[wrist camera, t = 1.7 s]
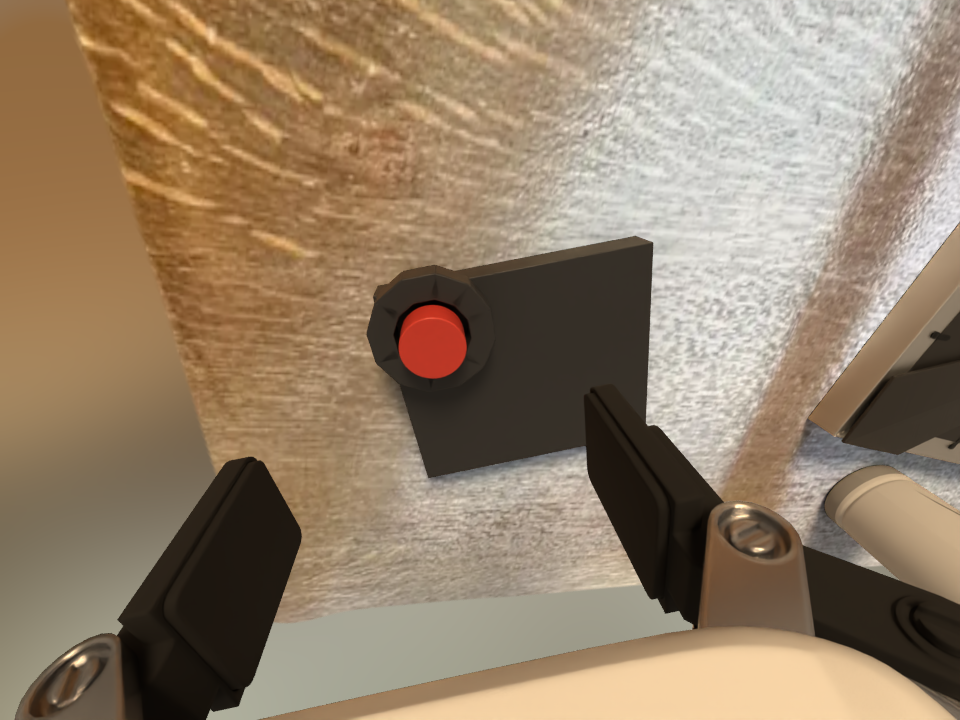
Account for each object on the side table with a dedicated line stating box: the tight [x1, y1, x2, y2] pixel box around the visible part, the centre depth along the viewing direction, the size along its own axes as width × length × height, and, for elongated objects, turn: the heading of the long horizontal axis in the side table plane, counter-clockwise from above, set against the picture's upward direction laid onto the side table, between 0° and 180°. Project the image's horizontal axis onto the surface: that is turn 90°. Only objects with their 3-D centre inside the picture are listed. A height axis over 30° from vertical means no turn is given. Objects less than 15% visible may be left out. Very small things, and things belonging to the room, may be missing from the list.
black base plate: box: [367, 236, 653, 478], centre depth 22 cm, size 14×13×4 cm
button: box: [398, 305, 467, 379], centre depth 18 cm, size 3×3×2 cm
